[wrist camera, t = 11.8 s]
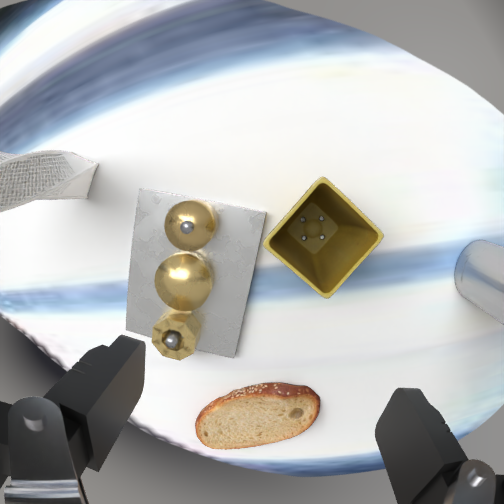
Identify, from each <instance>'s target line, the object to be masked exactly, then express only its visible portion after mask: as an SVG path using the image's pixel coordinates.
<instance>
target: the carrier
mask: <svg viewBox="0 0 504 504" xmlns="http://www.w3.org/2000/svg"><path fill="white" fill-rule="evenodd" d="M265 215H266V212H262V211H258V210H253V209H248V208H244V207H239V206H234V205H229V204H224V203H219V202H214V201H209V200H204V199H199V198H194V197H188V196H183V195H178V194H172V193H167V192H161V191H156V190H150V189H144V188H141V189H140V190H139V196H138V203H137V209H136V217H135V224H134V232H133V240H132V249H131V259H130V270H129V282H128V296H127V313H126V330H128V331H131V332H134V333H138V334H141V335H144V336H148V337H151V338H152V330H153V326H154V325H155V323H156V322H157V321H158V319H159V318H160V317H161V316H162V315H163V314H165V313H166V312H168V311H169V310H171V309H175V310H179V311H191V312H192V313H193V315H194V316H195V317H196V319H197V320H198V321H199V323H200V324H201V325H202V326H201V332H200V339H199V342H198V344H197V347H196V350H200V351H204V352H208V353H212V354H217V355H221V356H226V357H230V358H234V357H235V352H236V348H237V343H238V339H239V334H240V330H241V325H242V321H243V316H244V312H245V307H246V303H247V298H248V293H249V289H250V284H251V280H252V275H253V271H254V266H255V261H256V257H257V252H258V248H259V243H260V238H261V234H262V229H263V225H264V220H265ZM170 330H171V333H170V334H169V336H168V337H167V339H166V341H165V344H166V345H167V346H168V347H169V348H174V347H175V346H176V344H177V343H178V341H179V339H180V338H184V337H183V336H182V335H181V333H180V332H179V331H176V330H172V329H170Z"/></svg>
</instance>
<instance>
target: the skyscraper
mask: <svg viewBox="0 0 504 504" xmlns="http://www.w3.org/2000/svg"><path fill="white" fill-rule="evenodd" d="M97 166H98V163H94V162H91V161H89V160H87V159H84V158H82V157H79V156H77V155H75V154H73V152H68V151H58V150H47V151H38V152H32V153H27V154H9V153H4V152H1V151H0V212H3V211H6V210H9V209H12V208H15V207H18V206H21V205H24V204H26V203H29V202H31V201H34V200H58V199H87V198H88V196H87V194H88V191H89V188H90V185H91V182H92V179H93V176H94V173H95V170H96V167H97Z"/></svg>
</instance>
